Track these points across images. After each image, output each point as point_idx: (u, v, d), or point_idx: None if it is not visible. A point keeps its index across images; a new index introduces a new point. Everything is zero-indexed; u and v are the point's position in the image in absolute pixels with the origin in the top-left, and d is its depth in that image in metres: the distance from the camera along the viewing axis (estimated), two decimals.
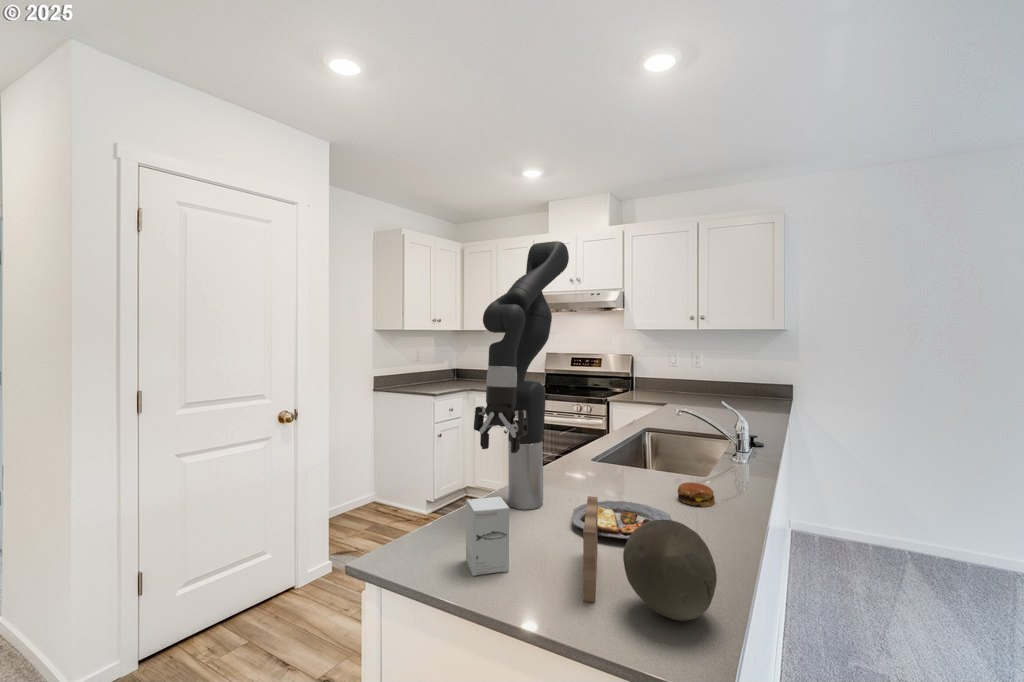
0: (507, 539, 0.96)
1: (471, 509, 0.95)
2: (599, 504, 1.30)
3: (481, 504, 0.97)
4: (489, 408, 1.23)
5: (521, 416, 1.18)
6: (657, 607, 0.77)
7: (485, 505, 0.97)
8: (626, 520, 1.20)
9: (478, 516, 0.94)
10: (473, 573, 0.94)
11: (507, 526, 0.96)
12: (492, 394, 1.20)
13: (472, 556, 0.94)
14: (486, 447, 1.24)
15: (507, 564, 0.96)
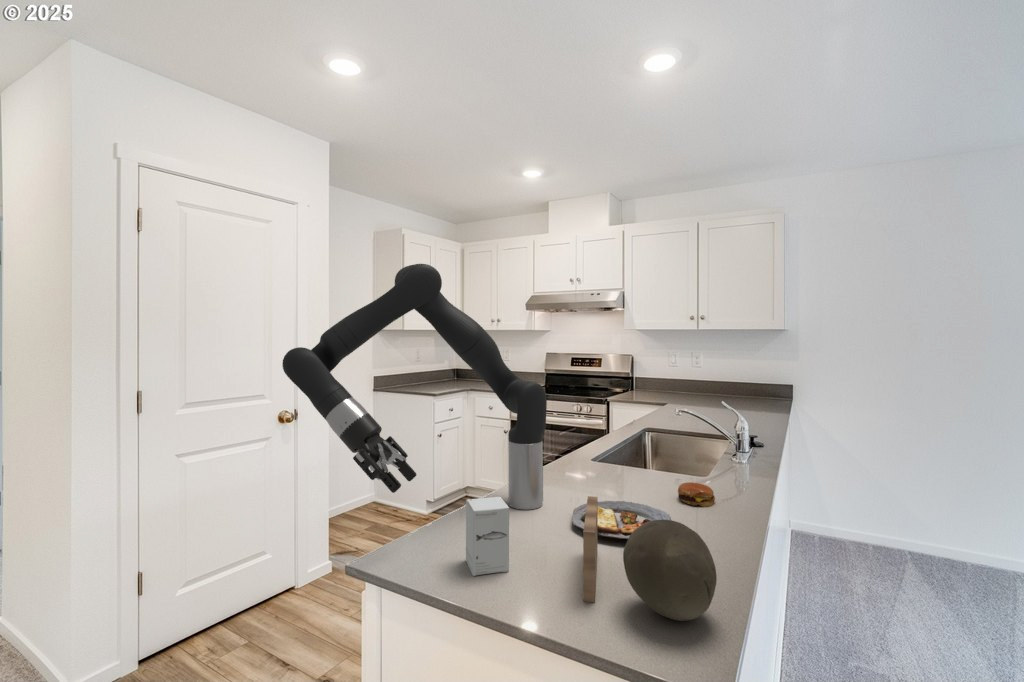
0: (507, 539, 0.96)
1: (471, 509, 0.95)
2: (599, 504, 1.30)
3: (481, 504, 0.97)
4: None
5: None
6: (657, 607, 0.77)
7: (485, 505, 0.97)
8: (626, 520, 1.20)
9: (478, 516, 0.94)
10: (473, 573, 0.94)
11: (507, 526, 0.96)
12: None
13: (472, 556, 0.94)
14: (411, 477, 1.05)
15: (507, 564, 0.96)
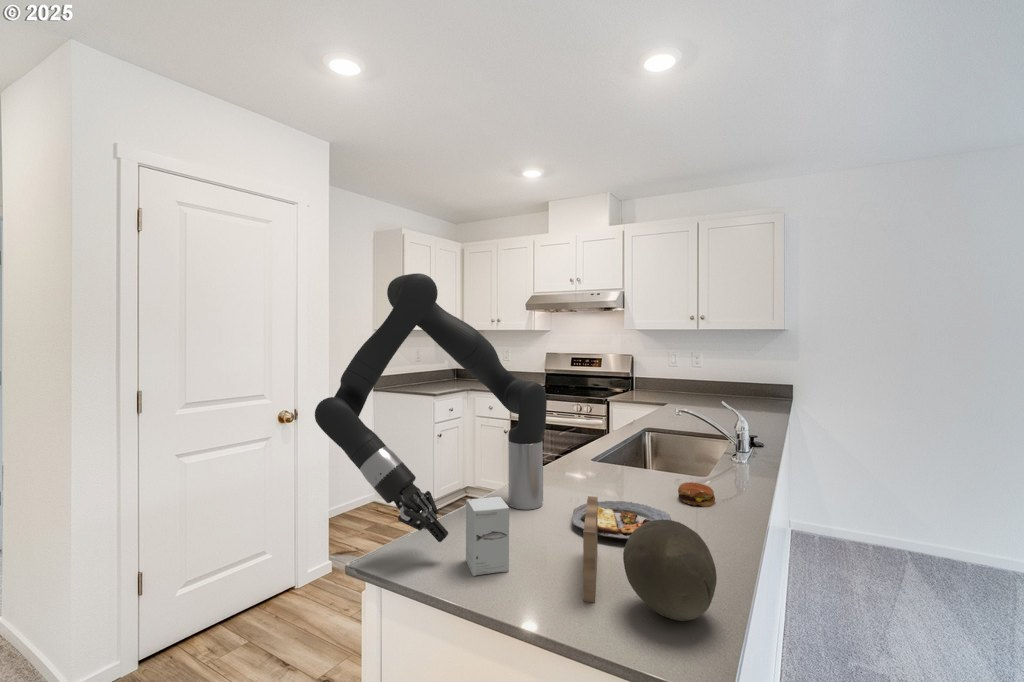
0: (507, 539, 0.96)
1: (471, 509, 0.95)
2: (599, 504, 1.30)
3: (481, 504, 0.97)
4: None
5: None
6: (657, 607, 0.77)
7: (485, 505, 0.97)
8: (626, 520, 1.20)
9: (478, 516, 0.94)
10: (473, 573, 0.94)
11: (507, 526, 0.96)
12: None
13: (472, 556, 0.94)
14: None
15: (507, 564, 0.96)
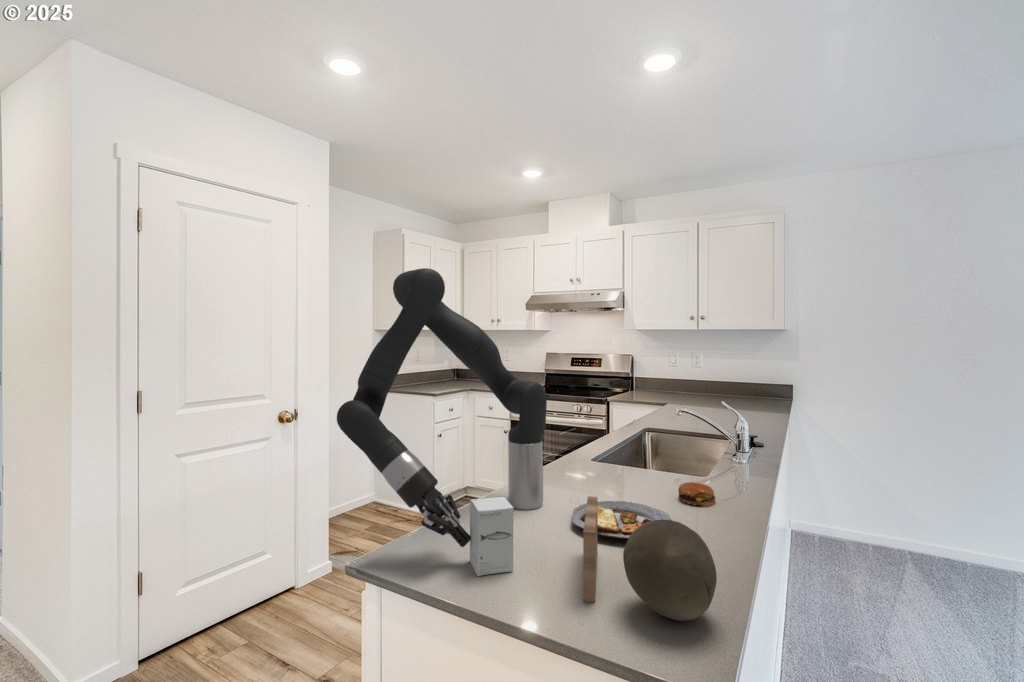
0: (511, 539, 0.95)
1: (475, 509, 0.95)
2: (599, 504, 1.30)
3: (486, 504, 0.97)
4: None
5: None
6: (657, 607, 0.77)
7: (489, 505, 0.96)
8: (626, 520, 1.20)
9: (482, 516, 0.94)
10: (477, 573, 0.94)
11: (511, 526, 0.95)
12: None
13: (476, 556, 0.94)
14: None
15: (511, 564, 0.96)
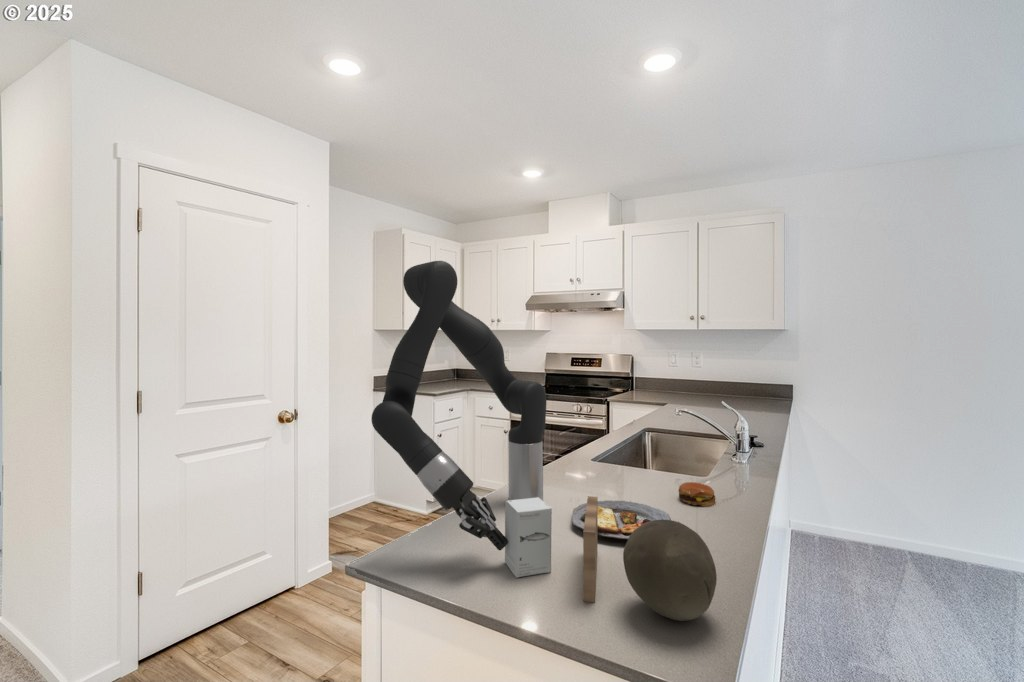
0: (549, 540, 0.95)
1: (513, 510, 0.95)
2: (598, 504, 1.30)
3: (523, 505, 0.96)
4: None
5: None
6: (657, 607, 0.77)
7: (526, 506, 0.96)
8: (626, 520, 1.20)
9: (521, 517, 0.93)
10: (517, 575, 0.93)
11: (550, 527, 0.95)
12: None
13: (515, 558, 0.94)
14: None
15: (549, 565, 0.95)
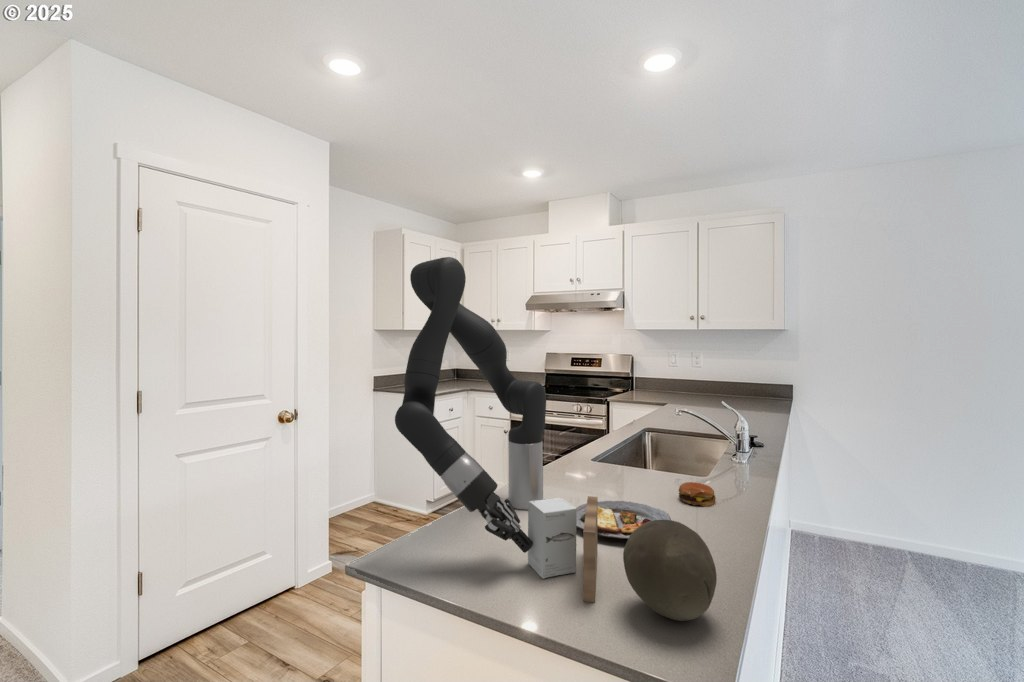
0: (574, 540, 0.95)
1: (539, 511, 0.94)
2: (598, 504, 1.30)
3: (548, 506, 0.96)
4: None
5: None
6: (657, 607, 0.77)
7: (551, 506, 0.96)
8: (626, 520, 1.20)
9: (547, 518, 0.93)
10: (543, 576, 0.93)
11: (575, 527, 0.95)
12: None
13: (541, 558, 0.93)
14: None
15: (574, 565, 0.95)
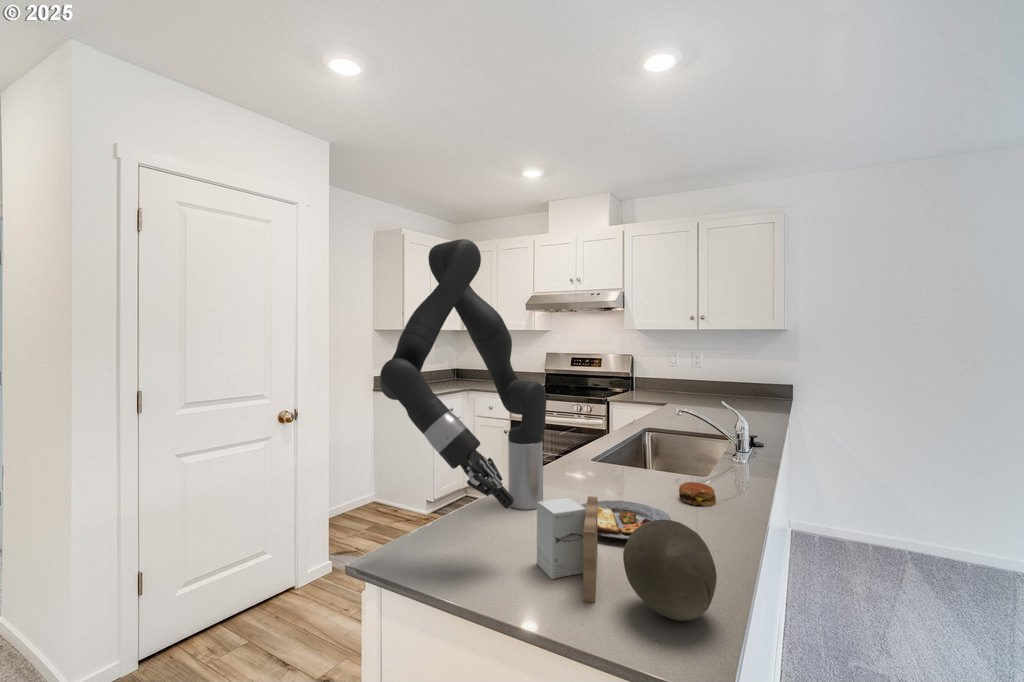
0: None
1: (548, 511, 0.94)
2: None
3: (557, 506, 0.96)
4: None
5: None
6: (657, 607, 0.77)
7: (560, 507, 0.95)
8: (625, 520, 1.20)
9: (557, 518, 0.93)
10: (552, 576, 0.93)
11: None
12: None
13: (551, 559, 0.93)
14: None
15: None
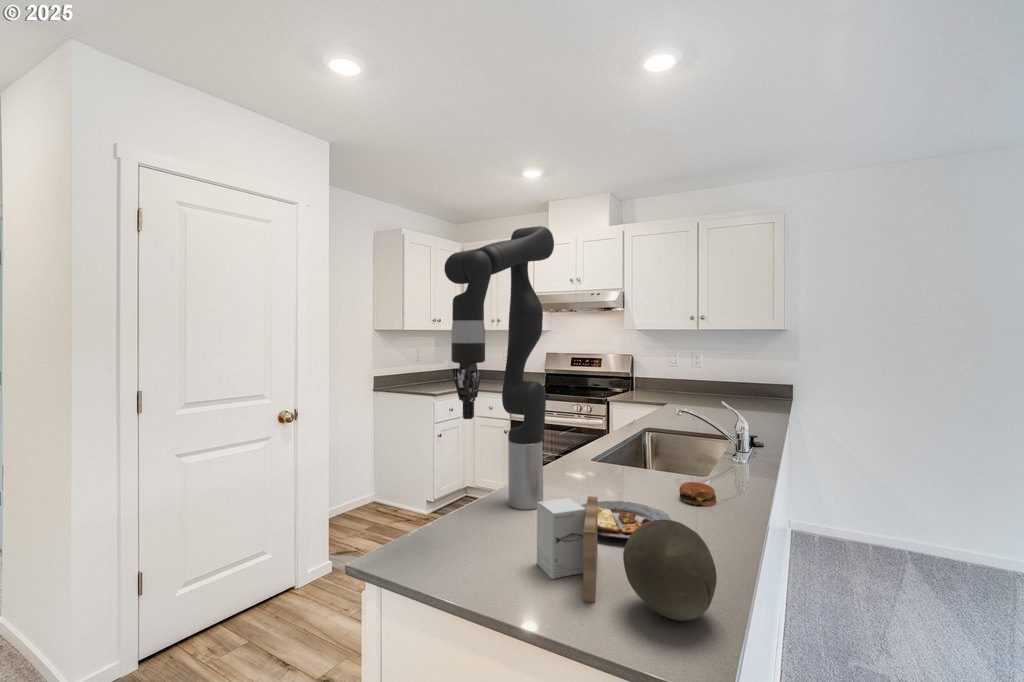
0: None
1: (548, 511, 0.94)
2: None
3: (557, 506, 0.96)
4: None
5: None
6: (657, 607, 0.77)
7: (560, 507, 0.95)
8: (625, 520, 1.20)
9: (557, 518, 0.93)
10: (552, 576, 0.93)
11: None
12: None
13: (551, 559, 0.93)
14: None
15: None
